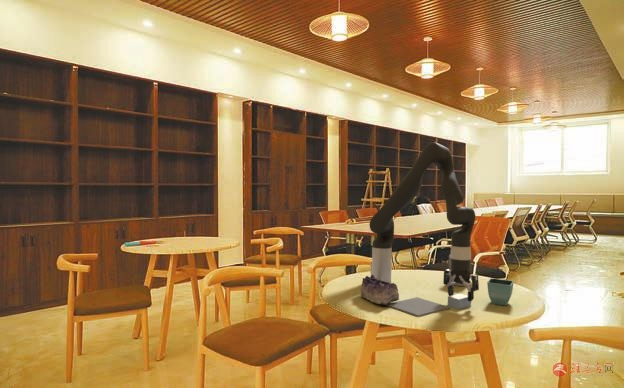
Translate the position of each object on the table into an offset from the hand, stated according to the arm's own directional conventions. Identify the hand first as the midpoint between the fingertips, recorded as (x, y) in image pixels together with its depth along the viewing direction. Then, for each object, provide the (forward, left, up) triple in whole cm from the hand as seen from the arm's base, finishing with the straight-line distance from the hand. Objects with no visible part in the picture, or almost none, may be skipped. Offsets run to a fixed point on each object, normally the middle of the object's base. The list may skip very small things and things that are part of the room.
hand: (460, 298), depth 158 cm
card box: (0, 0, -3) cm, 3 cm away
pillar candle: (-22, +31, -3) cm, 38 cm away
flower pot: (+7, +17, -3) cm, 18 cm away
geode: (-23, -23, -3) cm, 33 cm away
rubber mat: (-8, -15, -3) cm, 18 cm away
